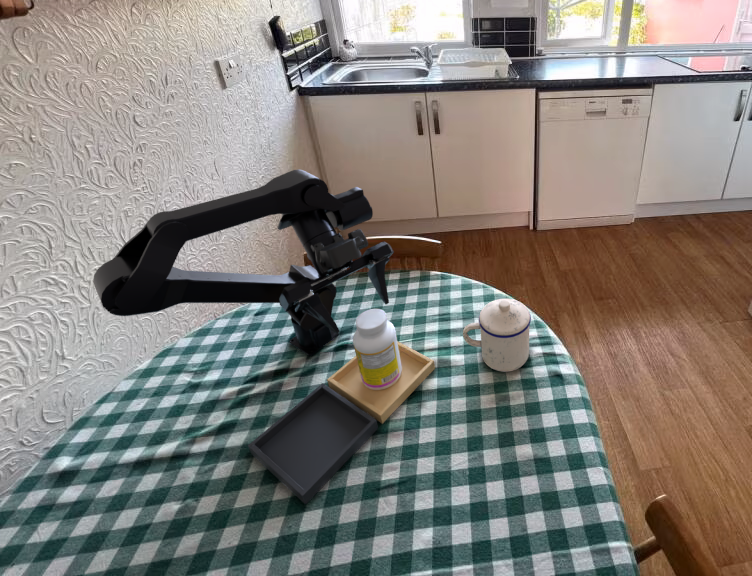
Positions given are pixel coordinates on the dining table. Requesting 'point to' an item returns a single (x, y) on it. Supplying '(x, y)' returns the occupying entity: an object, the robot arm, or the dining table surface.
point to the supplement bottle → (377, 350)
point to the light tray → (383, 400)
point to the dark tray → (313, 441)
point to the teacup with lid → (502, 334)
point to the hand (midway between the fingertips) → (363, 317)
